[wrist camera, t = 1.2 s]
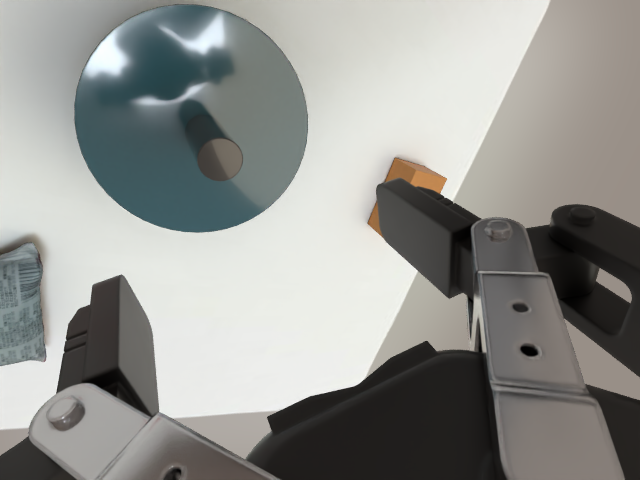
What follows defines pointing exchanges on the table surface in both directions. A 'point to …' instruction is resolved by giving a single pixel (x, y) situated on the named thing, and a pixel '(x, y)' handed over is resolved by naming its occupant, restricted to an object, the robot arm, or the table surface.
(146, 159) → the lid
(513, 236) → the robot arm
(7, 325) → the packaged food
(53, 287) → the table surface
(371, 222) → the orange rectangular block
